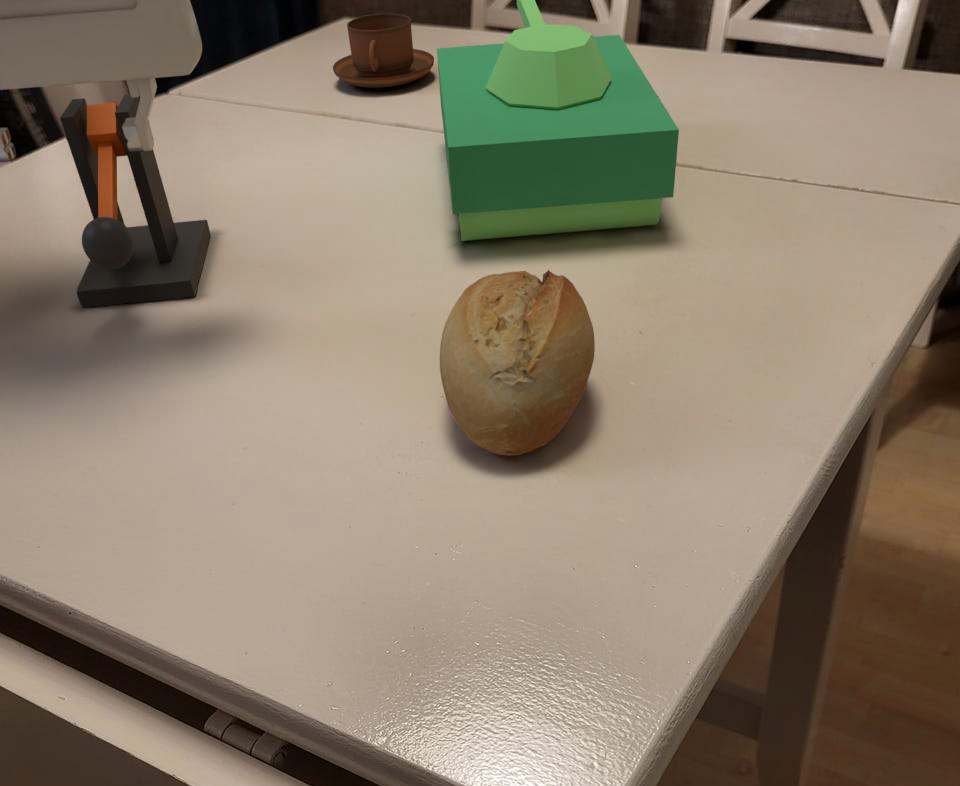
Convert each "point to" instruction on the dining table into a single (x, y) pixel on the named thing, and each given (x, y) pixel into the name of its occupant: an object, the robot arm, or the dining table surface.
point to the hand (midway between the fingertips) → (73, 154)
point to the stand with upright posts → (157, 246)
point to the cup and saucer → (382, 53)
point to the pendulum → (106, 192)
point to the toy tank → (553, 133)
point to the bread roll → (516, 359)
